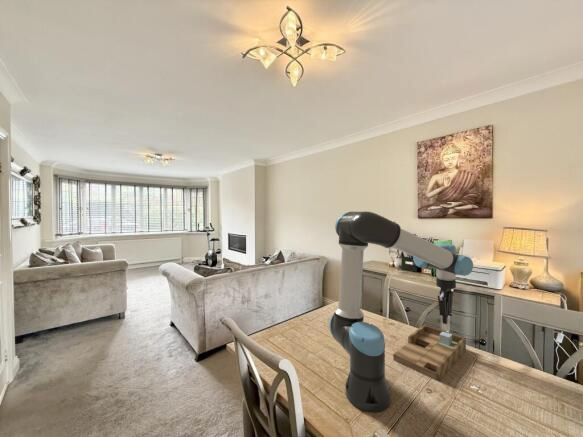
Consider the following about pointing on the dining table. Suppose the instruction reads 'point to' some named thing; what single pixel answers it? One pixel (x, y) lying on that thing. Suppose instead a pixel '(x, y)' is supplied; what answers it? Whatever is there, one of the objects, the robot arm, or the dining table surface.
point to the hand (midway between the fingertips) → (445, 329)
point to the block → (445, 338)
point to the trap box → (430, 352)
